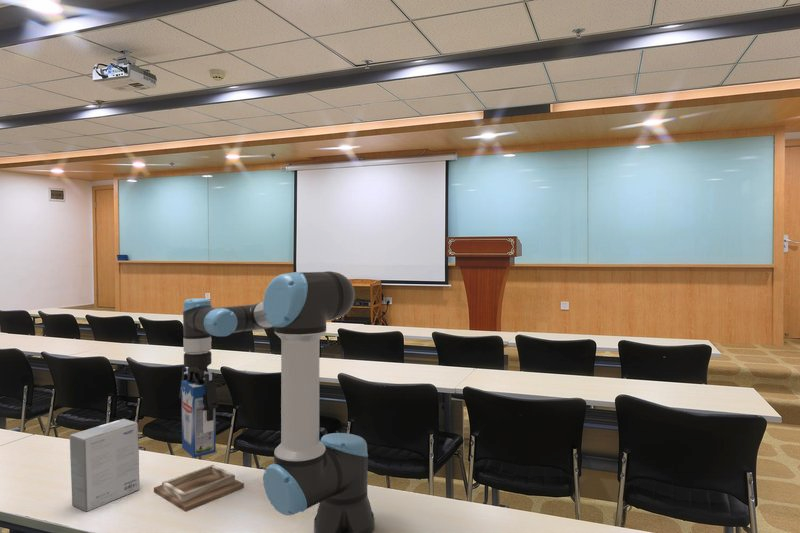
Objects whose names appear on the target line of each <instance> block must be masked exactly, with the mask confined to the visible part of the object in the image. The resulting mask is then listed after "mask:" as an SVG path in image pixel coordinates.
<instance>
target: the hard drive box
mask: <svg viewBox="0 0 800 533" xmlns="http://www.w3.org/2000/svg"><path fill="white" fill-rule="evenodd" d="M69 452H70V453H69V456H70V458H69V460H70V481H71V482H70V483H71V505H73V506H72V507H75V508H76V509H79V510H81V511H83V512H86V513H87V512H89V511H92V510H94V509H97V508H99V507H101V506H104V505H106V504H108V503H111V502H113V501H115V500H118V499H119V498H122V497H125V496H128V495H130V494H132V493H134V492H137V491H139V490H140V489H141V488H140V487H141V486H140V456H139V455H140V450H139V423H138V422H136V421H133V420H129V419H126V418H122V419H118V420H114V421H111V422H108V423H104V424H101V425H98V426H95V427H94V426H93V427H91V428H88V429H85V430H81V431H78V432H75V433H72V434H69Z"/></svg>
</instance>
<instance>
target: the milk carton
mask: <svg viewBox="0 0 800 533" xmlns="http://www.w3.org/2000/svg"><path fill="white" fill-rule="evenodd" d="M186 381H187V380H183V381H181V382H180V387H181V391H182V398H181V448H182V449H183V450H184V451H185V452H186V453H187V454H188V455H190V456H191V457H192V458H193V459H196V458H199V457H204V456H207V455H210V454H214V453H216V452H217V450H216V448H217V447H216V444H217V443H216V441H217V440H216V433H217V432H216V408H214V409H213V431H210V432H207V433H203V410H202V409H204V408H205V407H204V404H203V394H206V390H205V384H203V383H202V384H203V385H196V383H193V382H186Z"/></svg>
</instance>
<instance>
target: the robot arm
mask: <svg viewBox="0 0 800 533" xmlns="http://www.w3.org/2000/svg"><path fill="white" fill-rule="evenodd" d="M355 292H356V291H355V288H354V286H353V284H352V282H351V281H350V280H349V279H348V278H347V277H346V276H345V275H344V274H342V273H339V272H336V271H332V270H331V271H310V272H308V271H305V272H303V271H302V272H301V271H300V272H299V271H295V272H287V273H282V274H278V275H277V276H275V277H274V278H273V279H272V280H271V281H270V283H269V284H268V285H267V287H266V289H265V292H264V296H263V301H259V302H257V303H253V304H246V305H245V304H244V305H234V306H233V305H232V306H223V307H222V306H221V307H213V306H212V301H211V300H210V298H206V297H205V298H203V297H201V298H199V297H196V298H187V299H185V300H184V302H183V306H182V307H183V308H182V314H183V315H182V318H183V319H182V322H183V324H182V325H183V327H182V329H183V339H182V340H183V352H184V354H183V366H184V367H182V368H181V375H182V376H181V381H183V380H187V381H186V382H193V383H196V385H203V384H205V390H206V394H203V404H204V407H205V408H204V409H202V410H203V433H207V432H210V431H213V409H214V408H215V409H216V408H219V401H218V395H217V389H216V382H215V372H209V370H208V367H209V366H210V365H211V364H212V351H211V350H212V341H213V340H212V336H215V337H228V336H230V335H231V334H237V333H241V332H248V331H257V330H266V329H270V328H273V327H274V328H273V329H274V331H273V332H274V334H275V335H276V337H277V336H278V338H280V341H281V342H280V344H281V345H280V346H281V351H280V352H281V353H280V355H281V356H280V357H281V358H280V361H281V362H280V364H281V365H280V366H281V367H280V368H281V370H280V371H281V372H280V376H281V378H280V381H281V382H280V383H281V384H280V387H281V388H280V390H281V394H280V395H281V396H280V402H281V403H280V408H281V410H280V415H281V416H280V418H281V420H280V421H281V422H280V426H281V427H280V430H281V431H280V434H281V435H280V437H281V438H280V443H279V444H278V446H276V448H275V449H274V452H273V453H274V455H273V456H274V457H273V458H274V459H273V460H274V463H272V464H269V465H268V466H267V467H266V468H265V470H264V472H263V475H262V476H263V478H262V479H263V480H262V481H263V488H264V491H265V492H264V493H265V494H266V497H267V499H268V501H269V503H270V504H271V506H272V507H273V508H274V509H275V510H276V511H277V512H278V513H279V514H281V515H283V516H289V517H290V516H293V515H295V514H299V513H304V512H305V511H306V510H308V509H309V508H312V507H314V506H315V505H317V504H318V507H317V511H316V515H315V517H314V519H313V532H314V533H373V532H374V531H375V514H374V513H373V510H372V507H371V506H372V505H371V502H370V500H369V495H368V478H369V477H368V473H369V472H368V471H369V470H368V467H369V466H368V462H369V461H368V460H369V458H368V457H369V454H368V444H367V441H366V440H365V439H364V438H363V437H362V436H360V435H356V434H352V433H348V432H347V433H345V432H334V433H333V432H332V433H328V434H327V433H326V434H324V435H323V436H322V437H321V438H320V348H321V346H320V341H321V340H320V339H321V338H322V336H323V335H325V333H327V321H331V320H336V319H340V318H341V317H344V316H345V315H346V314H348V313H349V312H350V310H351V309H352V307H353V306H354V303H355V297H356V294H355ZM202 383H203V384H202ZM178 397H179V399H181V400H182V391H181V386H180V388H179V395H178Z"/></svg>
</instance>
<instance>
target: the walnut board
mask: <svg viewBox="0 0 800 533" xmlns="http://www.w3.org/2000/svg"><path fill="white" fill-rule="evenodd" d="M244 485H245V483H244V482H241V481H240V480H237V479H236V475H235V474H233V473H231V472H229V471H228V470H225V469H223V468H221V467H219V466H218V465H215V464H211V465H208V466H205V467H202V468H200V469H196V470H194V471H192V472H188V473H186V474H182V475H180V476H177V477H175V478H172V479H169V480H165V481H162V482H161V485H157V486H154V487H153V493H155V494H157V495H158V496H159V497H161V498H163V499H164V500H165V501H168V502H170V503H171V504H173V505H174V506H176V507H177V508H178V509H181V510H182V511H184V512H188V511H190V510H193V509H195V508H197V507H200V506H202V505H205V504H207V503H210V502H211V501H215V500H217V499H219V498H222V497H225V496H226V495H229V494H232V493H234V492H237V491H238V490H241V489H243V488H245V486H244Z"/></svg>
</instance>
